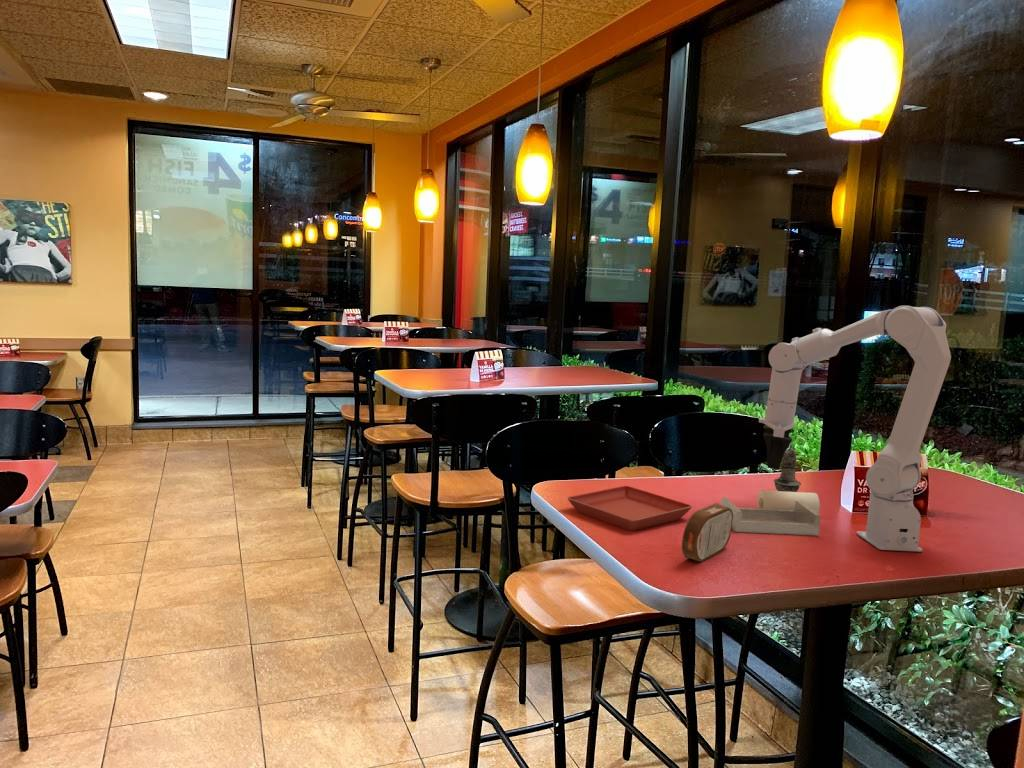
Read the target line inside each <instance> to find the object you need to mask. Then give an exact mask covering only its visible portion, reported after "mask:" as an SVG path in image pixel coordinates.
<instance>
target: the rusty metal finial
mask: <svg viewBox="0 0 1024 768" xmlns="http://www.w3.org/2000/svg"><path fill="white" fill-rule="evenodd" d="M797 455H798V454H797V452H796V451H795V450H794V449H793V446H792V445H791V444H789V448H787V449H786V451H785V453H784V456H783V459H782V462H781V464H780V467H781V472H780V475H779V477H778V478H775V479H773V482H774V487H775V489H776V491H785V492H799V490H800V489H799V488H800V486H801V485H802V483H801V482H800V481H798V480H797V478H796V470H797V469H796V468H798V466H797Z"/></svg>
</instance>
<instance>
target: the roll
mask: <svg viewBox="0 0 1024 768" xmlns="http://www.w3.org/2000/svg"><path fill="white" fill-rule="evenodd" d="M795 501H801V502H803V503H804V504H806V505H807V506H808V507H810V508H811V509H813V510H814V511H815V512H817V513H818V514H820V508H821V507H820V504H821V503H820V499H819V495H818V494H817V493H816V492H802V491H801V492H799V491H797V492H785V491H778V490H763V489H762V490H760V491H759V492H758V497H757V508H758V509H779V510H795Z"/></svg>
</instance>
